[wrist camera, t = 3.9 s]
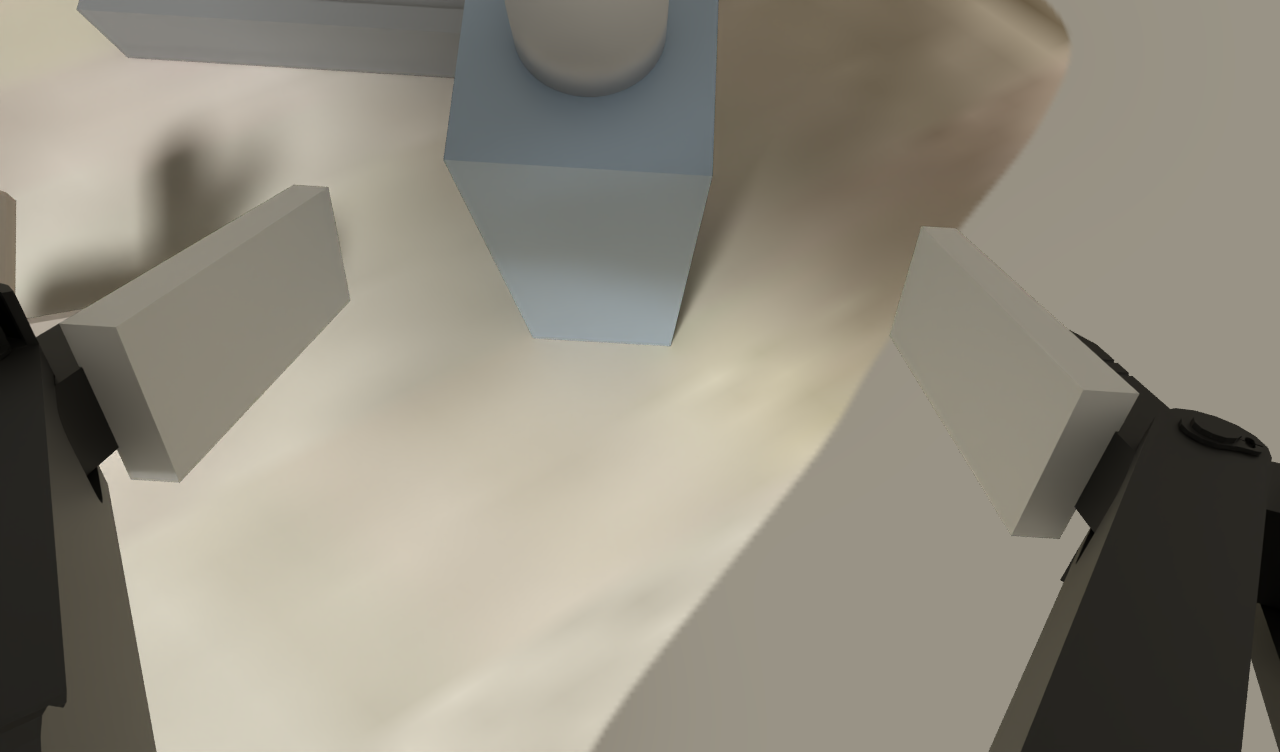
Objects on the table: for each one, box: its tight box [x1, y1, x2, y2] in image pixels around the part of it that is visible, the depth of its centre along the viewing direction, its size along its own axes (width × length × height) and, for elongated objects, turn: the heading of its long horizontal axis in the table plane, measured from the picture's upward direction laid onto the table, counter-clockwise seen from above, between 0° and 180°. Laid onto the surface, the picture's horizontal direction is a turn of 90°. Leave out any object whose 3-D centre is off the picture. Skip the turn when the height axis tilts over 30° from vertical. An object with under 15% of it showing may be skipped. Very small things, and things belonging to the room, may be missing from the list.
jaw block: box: [444, 0, 718, 346], centre depth 18 cm, size 5×6×13 cm
